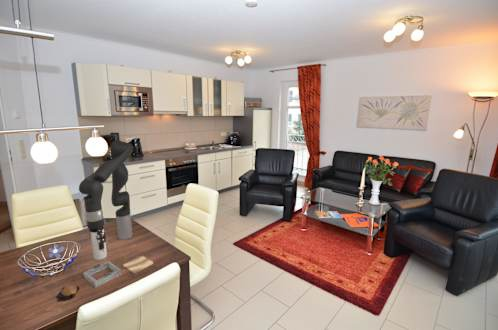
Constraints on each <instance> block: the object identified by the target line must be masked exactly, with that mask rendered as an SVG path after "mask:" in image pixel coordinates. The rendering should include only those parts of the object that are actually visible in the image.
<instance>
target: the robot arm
mask: <svg viewBox="0 0 498 330" xmlns="http://www.w3.org/2000/svg"><path fill="white" fill-rule="evenodd" d="M133 151H134V146H133V144H131V143H129V142H126V141H122V140H119V139H115V140H112V142H111V144H110V158H111V159H110V160H108V161H105V162H103V163H102V164H101V165H99V166H98V168H97V169H96V170H95V171H94V172H92V174H90V175H89V176H87V177H86V178H84V179H83V180H82V181H81V182H80V183H79V184H78V185H79V186H78V191H79V193H80V194H83V195H88V196H89V195H90V196H91V197H90V198H87V199H86V200H85V201H84V208H85V218H86V225H87V228H88V232H89V237H90V238H91V235H90V229H97V235H99V238H98V237H97V236H96V240H98V243H99V249H100V250H102V249H104V242H106V241H107V240H106V239H107V238H106V232H105V231H104V232H102V229H101V228H102V226H103V227H104V226H105V219H104V211H103V206H102V197H103V193H104V185H103V183H105V182H107V180H108V179H109V178H110V176H111V182H112V185H111V187H112V188H111V189H112V191H111V198H110V199H111V200H110V201H111V205H112V206H113V207H120V206H121V207H120V208H118V209H117V210H116V211H115V220H116V232H117V239H118V240H121V241H124V240H129V239H131V238H132V237H133V225H132V216H131V203H130V202H131V200H130V194H129V192H128V191H121V190H122V189H123V188H124V187H125V185H126V184H127V183H128V181H129V170H128V168H127V166H126V164H125V162H126V161H127V160H128V159H129V158H130V157H131V155H132V154H133ZM99 233H100V234H99ZM99 239H100V240H99Z"/></svg>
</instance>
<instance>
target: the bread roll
mask: <svg viewBox="0 0 498 330" xmlns="http://www.w3.org/2000/svg"><path fill="white" fill-rule="evenodd" d="M79 290H80V285H79V284H76V285H75V284H70V285H69V284H68V285H66V286H63V287H62V288H61V291H60V292H59V293H58V294H57V295H56V301H57V302H58V303H59V302H67V301H70V300H72V299H74V298H75V297H76V295H77V293H78V291H79Z"/></svg>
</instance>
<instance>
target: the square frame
mask: <svg viewBox="0 0 498 330" xmlns="http://www.w3.org/2000/svg"><path fill="white" fill-rule="evenodd" d="M107 268H109V269H110V270H111V271H112V272H111V271H109V272H107V273H105V274H103V275H104V276H102V277H100V278H98V279H96V278H94V277H93V275H95V274H97V273H99V272H101V271H104V270H106V269H107ZM121 275H122V269H121V268H119V267H118V266H117V265H115V264H114V263H112V262H111V260H108V261H105V262H103V263H102V264H100V263H98V264H96V265H94V266H93V267H92V268H90V269H88V270H86V271H84V272H83V276H84V277H83V279H85V280H86V281H87V282H88V283H90V284H91V285H92V286H93V287H94V288H95V289H96V288H98V287H100V286H102V285H104V284H105V283H108V282H109V281H111V280H113V279H115V278H117V277H119V276H121Z"/></svg>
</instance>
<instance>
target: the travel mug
mask: <svg viewBox="0 0 498 330" xmlns="http://www.w3.org/2000/svg"><path fill="white" fill-rule="evenodd" d="M101 229H102V232H105V229H104V226H102V228H101ZM99 234H100V233H99ZM90 235H91V237H90V240H91V250H92V255H93V256H92V257H93V260H94V261H95V262H102V261H105V259H107V258H108V254H107V253H108V252H107V244H106V242H104V249H102V250H100V249H99V243H98V240H96V236H97V237H98V238H99V235H97V229H90V233H89V236H90ZM99 240H100V239H99Z"/></svg>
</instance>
